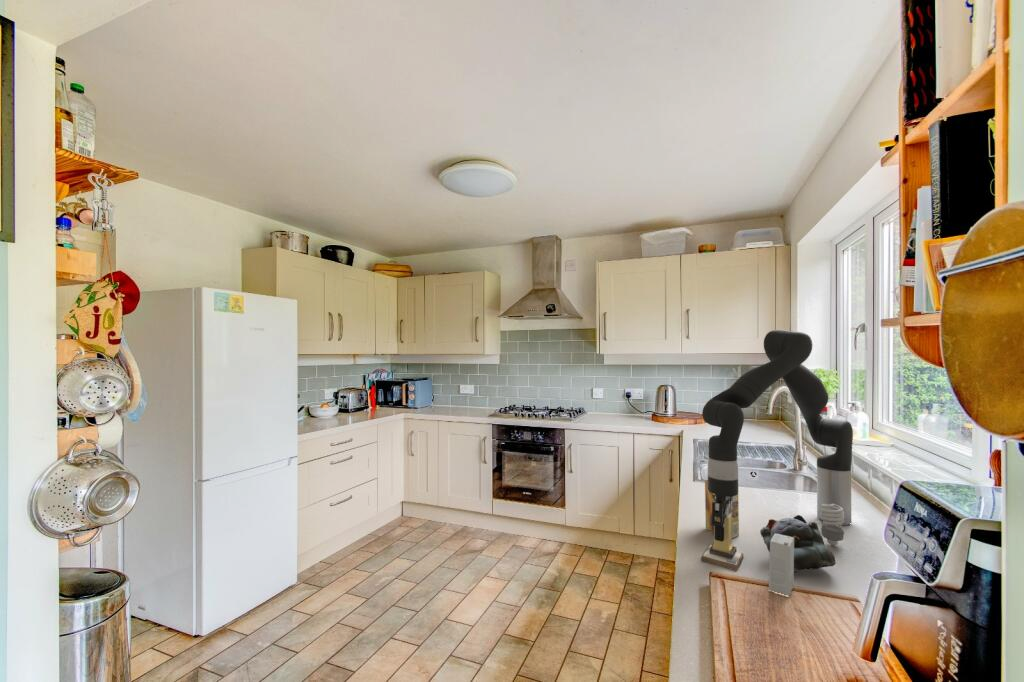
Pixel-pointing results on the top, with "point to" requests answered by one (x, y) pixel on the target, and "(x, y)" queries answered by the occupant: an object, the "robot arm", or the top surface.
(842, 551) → the top surface
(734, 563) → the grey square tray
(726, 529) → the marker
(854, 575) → the top surface
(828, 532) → the light bulb
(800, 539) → the lucky cat figurine
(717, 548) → the ochre key
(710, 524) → the candy box
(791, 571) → the skincare box
